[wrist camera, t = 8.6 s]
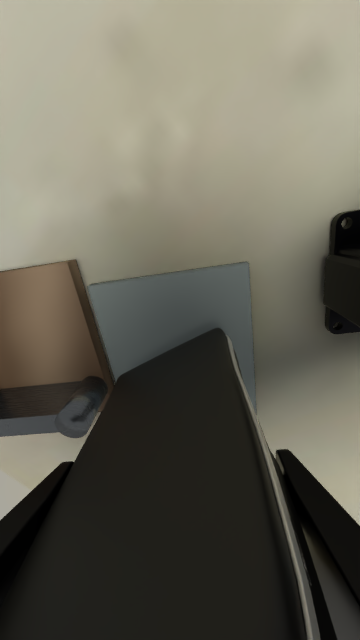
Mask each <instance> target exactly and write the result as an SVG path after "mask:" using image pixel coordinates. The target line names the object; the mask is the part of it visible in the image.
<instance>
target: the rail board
mask: <svg viewBox="0 0 360 640" xmlns="http://www.w3.org/2000/svg"><path fill="white" fill-rule="evenodd" d="M88 376H97V377H100V378H102V379H103V380H104V381H105V382H106V383H107V385H108V393H107V395H106V397H105V399H104V401H103V403H102V404H101V406H100V408H99V410H98V412H102V410H103V408H104V406H105V404H106V402H107V400H108V398H109V396H110V394H111V392H112V390H113V388H114V385H113V381H112V378H111V375H110V371H109V368H108V365H107V362H106V358H105V355H104V352H103V348H102V345H101V342H100V338H99V335H98V332H97V328H96V325H95V322H94V319H93V315H92V312H91V309H90V305H89V302H88V299H87V295H86V292H85V289H84V285H83V282H82V279H81V276H80V272H79V269H78V266H77V262H76V260H70V261H64V262H57V263H51V264H45V265H38V266H32V267H26V268H19V269H13V270H7V271H0V389H5V388H15V387H25V386H35V385H45V384H55V383H65V382H75V381H82V380H83V379H84V378H86V377H88Z"/></svg>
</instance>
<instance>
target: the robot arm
mask: <svg viewBox="0 0 360 640" xmlns="http://www.w3.org/2000/svg"><path fill="white" fill-rule="evenodd" d="M345 218H346V219H347V221H348V223H347V225H346V226H345V227H344V228H343V227H342V225H341V223H342V221H343V220H344V219H345ZM323 303H324V305H326V320H325V326H326V329H327V330H328V331H330V332H331V333H333V334H343V333H353V332H360V210H354V211H348V212H343V213H340V214H338V215H337V216H336V217H335V218H334V219H333V222H332V228H331V244H330V255H329V257H328V258H327V259H326V266H325V283H324V299H323ZM337 322H339V324H338V326H337V327H334V328H333V326H334V324H335V323H337ZM276 461H277V463H278V464H279V466H280V469H281V471H282V473H283V476H284V479H285V481H286V484H287V487H288V490H289V492H290V495H291V498H292V501H293V503H294V506H295V509H296V512H297V514H298V517H299V520H300V523H301V526H302V529H303V532H304V535H305V538H306V541H307V544H308V547H309V550H310V554H311V557H312V560H313V563H314V566H315V569H316V572H317V575H318V579H319V582H320V585H321V588H322V591H323V594H324V598H325V601H326V604H327V607H328V610H329V614H330V617H331V620H332V623H333V627H334V630H335V633H336V636H337V639H338V640H360V526H359V525H358V524H357V522H356V521H355V520H354V519H353V518H352V517H351V516H350V515H349V514H348V513H347V512H346V511H345V510H344V508H343V507H342V506H341V505H340V504H339V503H338V502H337V501H336V500H335V499H334V498H333V497H332V496H331V494H330V493H329V492H328V491H327V490H326V489H325V488H324V487H323V486H322V485H321V484H320V483H319V482H318V481H317V479H316V478H315V477H314V476H313V475H312V474H311V473H310V472H309V471H308V470H307V469H306V468H305V467H304V465H303V464H302V463H301V462H300V461H299V460H298V459H297V458H296V457H295V456H294V455H293V454H292V453H291V451H289V450H288V449H280V450H276ZM73 464H74V462H72V461H71V462H63V463H61V464H60V465H59V466H58V467H57V468H56V469H55V470H53V471H52V472H51V473H50V474H49V475H48V476H47V477H46V478H45V479H44V480H43V481H42V482H41V483H40V484H39V485H37V486H36V487H35V488H34V489H33V490H32V491H31V492H30V493H29V494H28V495H27V496H26V497H25V498H24V499H23V500H22V501H20V502H19V503H18V504H17V505H16V506H15V507H14V508H13V509H12V510H11V511H10V512H9V513H8V514H7V515H6V516H4V517H3V519H1V520H0V607H1V605H2V603H3V601H4V599H5V597H6V595H7V593H8V591H9V589H10V587H11V585H12V583H13V581H14V579H15V577H16V575H17V573H18V571H19V569H20V567H21V565H22V563H23V561H24V559H25V557H26V555H27V553H28V551H29V549H30V547H31V545H32V543H33V541H34V539H35V537H36V535H37V533H38V531H39V529H40V527H41V525H42V523H43V521H44V519H45V517H46V515H47V513H48V511H49V509H50V507H51V505H52V504H53V502H54V500H55V498H56V496H57V494H58V492H59V490H60V488H61V486H62V484H63V482H64V481H65V479H66V477H67V475H68V473H69V471H70V469H71V467H72V466H73Z"/></svg>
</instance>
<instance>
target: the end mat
mask: <svg viewBox="0 0 360 640" xmlns="http://www.w3.org/2000/svg"><path fill="white" fill-rule="evenodd" d="M87 287H88V291H89V294H90V297H91V301H92V304H93V308H94V311H95V314H96V318H97V321H98V324H99V328H100V331H101V334H102V338H103V341H104V345H105V348H106V351H107V355H108V358H109V361H110V365H111V368H112V371H113V375H114V378H115V382H117V379H118V377H119V376H120V375H122V374H123V373H125V372H127V371H129V370H131V369H133V368H135V367H137V366H139V365H141V364H143V363H145V362H147V361H149V360H151V359H153V358H155V357H157V356H159V355H161V354H162V353H164V352H166V351H169V350H171V349H173V348H175V347H177V346H179V345H181V344H183V343H185V342H187V341H189V340H191V339H193V338H195V337H197V336H199V335H201V334H203V333H205V332H207V331H210V330H212V329H214V328H221V329H222V330H223V331H224V333H225V335H228V336H229V338H230V340H231V342H232V346H233V349H234V350H235V352H236V355H237V359H238V362H239V367H240V370H241V374H242V378H243V381H244V384H245V387H246V390H247V392H248V395H249V397H250V400H251V403H252V405H253V407H254V410H255V413H256V415H257V411H256V392H255V372H254V353H253V333H252V314H251V295H250V275H249V263H248V262H240V263H233V264H226V265H219V266H212V267H206V268H199V269H192V270H185V271H178V272H171V273H164V274H157V275H150V276H144V277H137V278H130V279H123V280H116V281H109V282H102V283H95V284H91V285H89V286H87Z"/></svg>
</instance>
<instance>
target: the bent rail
mask: <svg viewBox="0 0 360 640" xmlns="http://www.w3.org/2000/svg"><path fill="white" fill-rule="evenodd" d="M107 393H108V385H107V383H106V382H105V381H104V380H103V379H102V378H100V377H97V376H88V377H86V378H84V379H83V380H82V381H75V382H65V383H55V384H45V385H35V386H25V387H15V388H5V389H0V437H2V436H15V435H28V434H41V433H54V432H60V433H62V434H63V435H65V436H67V437H71V438H79V437H82V436H84V435H85V434H86V433H87V432H88V430H89V428H90V426H91V424H92V422H93V420H94V418H95V416H96V414H97V412H98V410H99V408H100V406H101V404H102V403H103V401H104V399H105V397H106V395H107Z"/></svg>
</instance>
